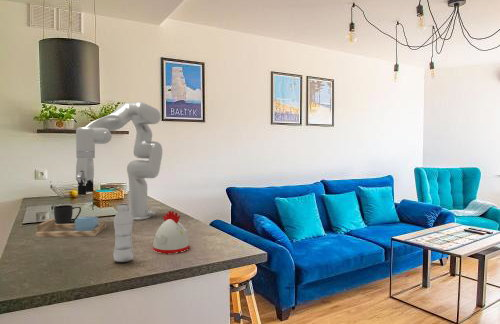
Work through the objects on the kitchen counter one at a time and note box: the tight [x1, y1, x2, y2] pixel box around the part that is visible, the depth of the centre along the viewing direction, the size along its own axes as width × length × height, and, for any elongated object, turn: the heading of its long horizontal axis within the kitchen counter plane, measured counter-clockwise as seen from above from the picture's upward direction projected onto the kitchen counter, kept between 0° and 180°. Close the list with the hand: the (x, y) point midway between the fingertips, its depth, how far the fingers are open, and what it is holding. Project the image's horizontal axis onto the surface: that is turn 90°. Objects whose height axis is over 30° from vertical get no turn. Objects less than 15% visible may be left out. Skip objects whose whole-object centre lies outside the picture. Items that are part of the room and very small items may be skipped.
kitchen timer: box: [152, 210, 190, 253], centre depth 141 cm, size 14×14×15 cm
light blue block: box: [74, 216, 99, 231], centre depth 161 cm, size 8×6×6 cm
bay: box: [35, 217, 107, 238], centre depth 161 cm, size 24×16×6 cm, turn 96°
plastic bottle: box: [112, 203, 134, 263], centre depth 125 cm, size 6×7×20 cm
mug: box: [53, 204, 82, 224], centre depth 178 cm, size 8×12×10 cm
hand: (85, 193), depth 161 cm, fingers open, 9 cm apart
